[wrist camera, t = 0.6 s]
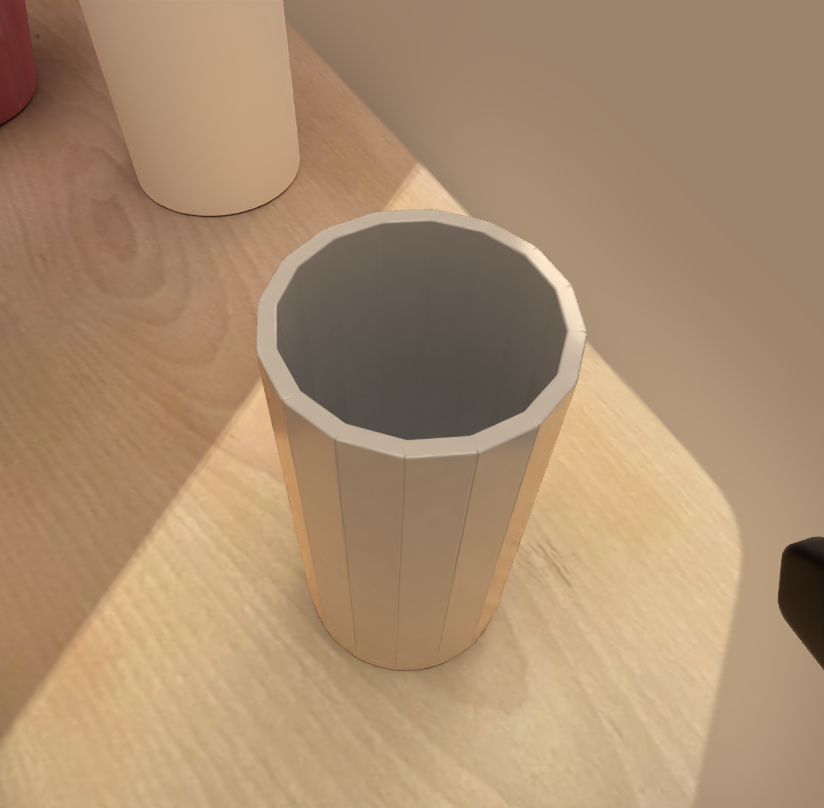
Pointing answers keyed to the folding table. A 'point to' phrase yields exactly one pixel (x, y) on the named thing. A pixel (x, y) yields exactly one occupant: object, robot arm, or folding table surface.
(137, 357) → the folding table surface
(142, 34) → the cup
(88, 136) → the folding table surface
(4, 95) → the flower pot
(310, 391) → the tumbler
